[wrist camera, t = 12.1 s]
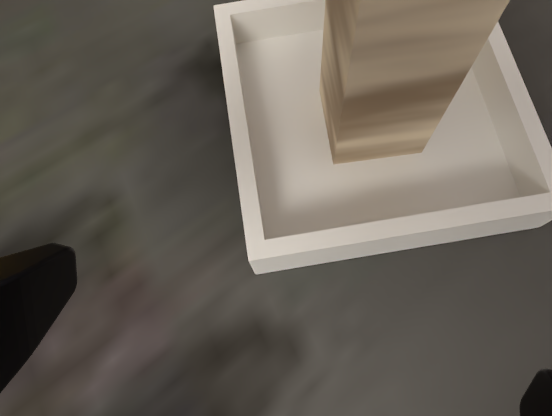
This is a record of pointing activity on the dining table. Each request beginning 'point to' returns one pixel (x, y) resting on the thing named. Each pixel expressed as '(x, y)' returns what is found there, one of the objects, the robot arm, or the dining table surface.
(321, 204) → the tray
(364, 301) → the dining table surface
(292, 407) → the dining table surface
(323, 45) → the birch block
